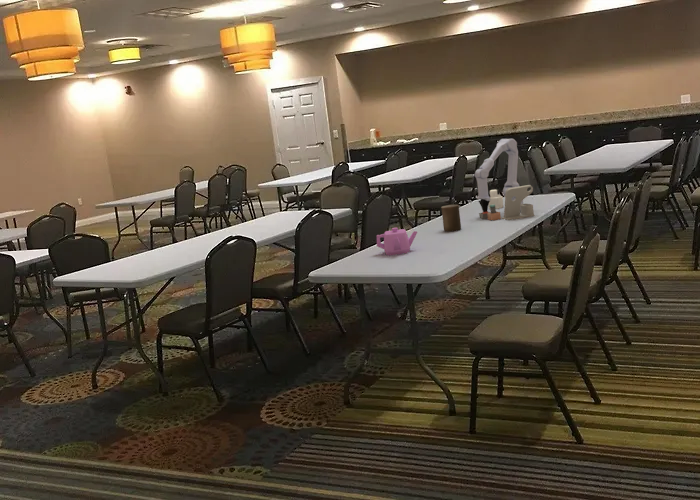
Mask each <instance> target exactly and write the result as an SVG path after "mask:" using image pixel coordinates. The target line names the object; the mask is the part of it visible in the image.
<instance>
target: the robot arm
mask: <svg viewBox="0 0 700 500" xmlns="http://www.w3.org/2000/svg"><path fill="white" fill-rule="evenodd" d="M517 146H518V142H517V141H516V140H515V139H514V138H501V139H500V140H499V141H498V142H497V143H496V147H495V148H494V150H492V153H491V155H490V156H489V158H486V159H484V160H483V163H482V164H481V165H480V166H479V168H477V169H476V170H475V172H474V175H473V176H474V177H475V179H476V184H477V190H478V192H477V193H478V195H477V197H476V199H478V203H479V204H480V207H481V210H482V212H487V211H489V205H488V204H489V202H490V197H491V196H490V194H489V187H488V177H489V175H490V171H491V170H492V169H493V167H494V166H495V161H496V160H497V159H498V157H499V156H500V155H501V154H502V153H503V152H505V153H506V154H507V155H508V162H507V163H508V164H507V177H506V178H507V180H506V182H505V183H504V187H503V189H502V193H503V195H504V196H505V195H506V190H507V189H508V188H513V187H519V186H520V183H518V181H517V179H518V165H519V163H518V161H519V150H518V147H517ZM515 199H516V197H515V196H514V197H512V199H511V200H512V201H514V200H515ZM521 204H524V199H523V200H522V201H521ZM520 212H521V206H520Z"/></svg>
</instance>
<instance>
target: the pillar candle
mask: <svg viewBox="0 0 700 500" xmlns="http://www.w3.org/2000/svg"><path fill="white" fill-rule="evenodd" d="M460 213H461V212H460V205H459V204H448V205H443V206H441V214H442V215H441V216H442V224H443V232H457V231H461V230H462V223H461V215H460ZM460 229H461V230H460ZM456 230H457V231H456Z"/></svg>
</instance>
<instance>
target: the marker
mask: <svg viewBox="0 0 700 500" xmlns="http://www.w3.org/2000/svg"><path fill="white" fill-rule="evenodd" d="M496 211H497V209H496V208H495V204H492V205H490V209H489V212H491V214H493V213H496Z"/></svg>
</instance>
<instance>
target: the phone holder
mask: <svg viewBox="0 0 700 500" xmlns="http://www.w3.org/2000/svg"><path fill="white" fill-rule="evenodd" d="M529 188H530V189H529ZM528 189H529V190H528ZM533 191H534V187H533V186H532V185H531V184H527V185H521V186H520V185H519V187H513V188H508V189H507V190H506V195H504V197H505V198H504V211H503V212H504V213H503V216H501V219H500V220H504V219H505V221H512V219H513V220H518V218H519V219H524V217H525V218H529V217H534V216H535V213H534V204H530V203H523V204H521V201H522V200H523V201H524V200H525V199H526V198H527V197H528V196H530V194H532V193H533ZM514 196H515V197H516V199H515V200H514V201H512V200H511V199H512V197H514ZM520 206H521V211H520Z"/></svg>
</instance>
